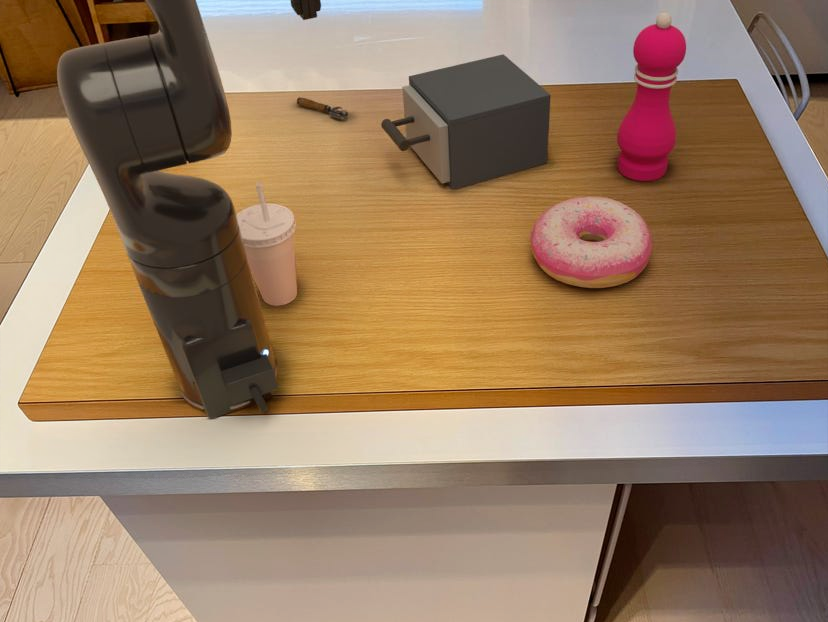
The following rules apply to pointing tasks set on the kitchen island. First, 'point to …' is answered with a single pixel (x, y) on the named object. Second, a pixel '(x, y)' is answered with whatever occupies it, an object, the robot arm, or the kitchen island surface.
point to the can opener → (323, 108)
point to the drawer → (422, 133)
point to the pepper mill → (651, 102)
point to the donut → (591, 261)
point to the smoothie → (270, 249)
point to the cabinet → (488, 117)
